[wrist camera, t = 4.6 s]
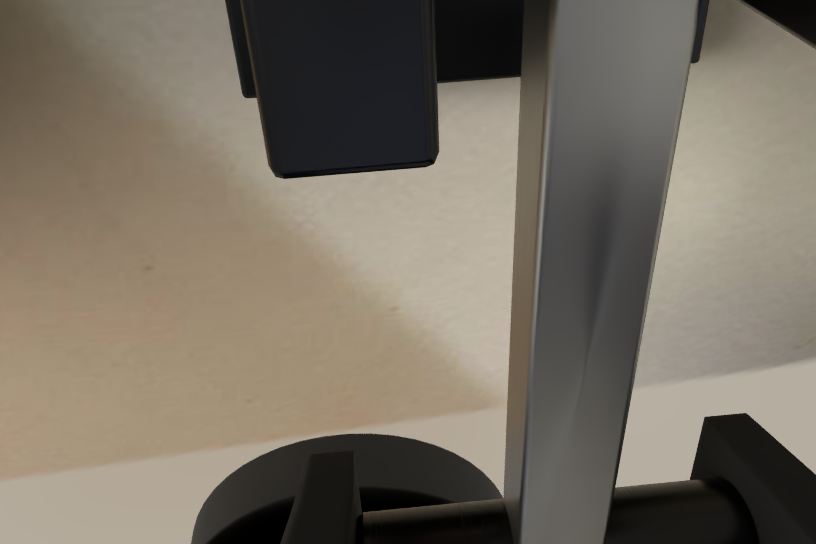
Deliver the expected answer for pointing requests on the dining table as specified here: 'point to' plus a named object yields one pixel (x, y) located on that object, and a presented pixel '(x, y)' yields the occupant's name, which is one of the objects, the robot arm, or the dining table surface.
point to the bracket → (387, 71)
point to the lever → (585, 289)
